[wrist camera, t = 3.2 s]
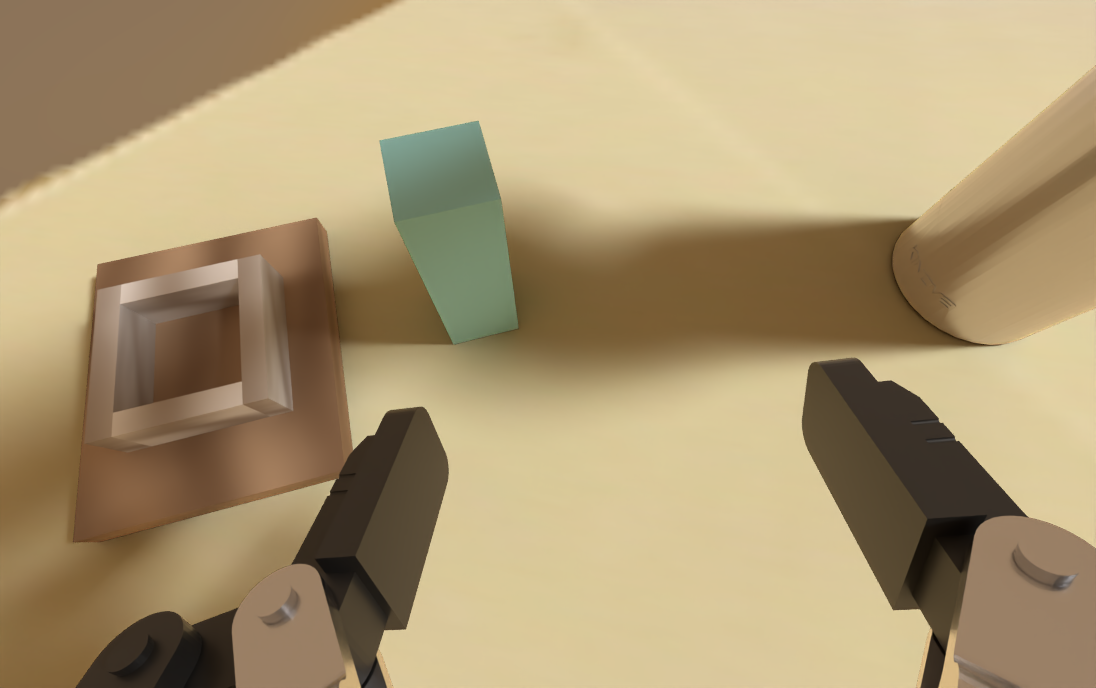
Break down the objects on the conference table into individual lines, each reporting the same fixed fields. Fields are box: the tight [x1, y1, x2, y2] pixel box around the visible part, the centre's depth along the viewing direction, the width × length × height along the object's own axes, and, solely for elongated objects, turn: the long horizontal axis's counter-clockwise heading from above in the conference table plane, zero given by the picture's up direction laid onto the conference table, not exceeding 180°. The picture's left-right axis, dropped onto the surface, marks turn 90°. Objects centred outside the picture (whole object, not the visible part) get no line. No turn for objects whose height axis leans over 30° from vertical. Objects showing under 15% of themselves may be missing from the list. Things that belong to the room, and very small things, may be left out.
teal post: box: [380, 121, 519, 344], centre depth 24 cm, size 4×4×12 cm
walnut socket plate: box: [73, 218, 353, 542], centre depth 26 cm, size 13×16×4 cm
